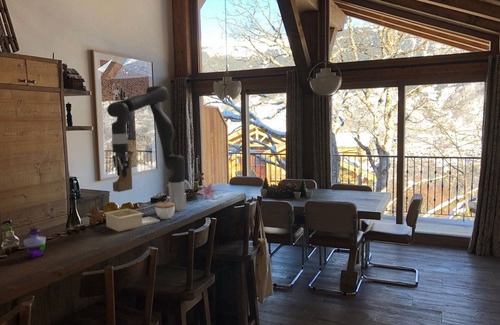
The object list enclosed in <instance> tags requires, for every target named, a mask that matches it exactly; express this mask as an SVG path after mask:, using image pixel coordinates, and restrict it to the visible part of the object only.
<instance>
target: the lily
mask: <svg viewBox="0 0 500 325" xmlns="http://www.w3.org/2000/svg"><path fill="white" fill-rule="evenodd" d="M201 188H202V189H198V191H197V193H198V194H201V195H202V199H203V200H205V199H206V198H210V199H211V200H214V193H217V190H216V189H213V183H212V182H211V183H209V184H207V185H203V184H202V185H201Z"/></svg>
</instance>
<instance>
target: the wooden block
mask: <svg viewBox="0 0 500 325" xmlns="http://www.w3.org/2000/svg"><path fill="white" fill-rule="evenodd" d="M126 156H127V157H129V168H127V169H126V172H127V176H126V177H122V168H121V165H120V163H119V176H118V178H117V180H116V181H114V182H112V191H113V192H117V193H121V192H127V191H129V190H132V189H133V173H132V155H131V154H126ZM126 165H127V164H126Z"/></svg>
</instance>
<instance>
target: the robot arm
mask: <svg viewBox="0 0 500 325" xmlns="http://www.w3.org/2000/svg"><path fill="white" fill-rule="evenodd" d="M168 98H169V91H168V89H167V87H165V86H164V85H154V86H153V85H152V86H148V87H147V88H146V92H145V93H143V94H139V95H135V96H134V95H133V96H131V97H129V98H126V99H123V100H118V101H114V102H111V103H110V104H109V105H108V107H107V108H106V110H107V115H109V117H113V118H116V121H114V122H112V123H111V145H112V146H111V147H112V148H111V150H112V152H113V153H115V155H112V162H113V166H114V168H115V169H116V175H117V177H119V163H120V165H121V168H122V177H126V176H127V172H126V169H127V168H129V157H127V156H126V153H129V144H128V143H129V142H128V141H129V140H128V134H127V133H128V131H127V123H128V119H129V114H130V113H132V112H135V111H137V110H140V109H142V108H144V107H147V106H149V108H150V110H151V113H152V115H153V119H154V123H155V125H156V130H157V134H158V137H159V142H160V146H161V150H162V155H163V162H164V165H165V167H166V170H168V171H173V175H170V176H168V198H169V200H168V202H172V203H175V211H174V212H179V211H184V210H186V209H187V193H186V192H185V177H186V161H185V157H184V156H183V155H180V154H179V155H178V154H174V151H173V141H174V138H175V129H174V126H173V123H172V122H173V121H172V120H171V119H170V118H169V116H168V115H167V114H166V113H165V112H164V110H163V109H162V106H161V104H160V103H163V102H166V101H167V100H168ZM126 164H127V165H126Z"/></svg>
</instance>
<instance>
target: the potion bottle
mask: <svg viewBox="0 0 500 325" xmlns="http://www.w3.org/2000/svg"><path fill="white" fill-rule="evenodd" d="M27 233H28V235H29V236H30V237H28V238H26V239H23V244H24V248H25V250H26V251H27V254H28V258H29V259H37V258H41V257H43V256H44V251H45V248H46V241H47V237H46V236H39V234H41V229H40V228H39V226H32V227H29V230H28V232H27Z"/></svg>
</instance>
